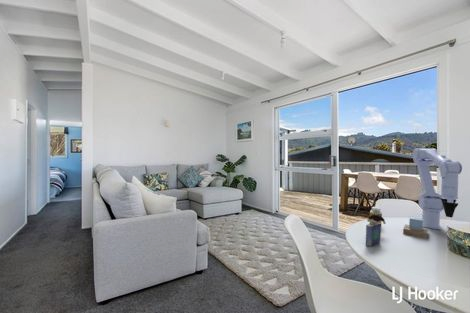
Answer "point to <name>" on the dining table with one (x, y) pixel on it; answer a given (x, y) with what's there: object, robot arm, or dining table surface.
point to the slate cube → (415, 223)
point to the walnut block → (415, 232)
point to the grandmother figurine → (376, 216)
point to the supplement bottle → (373, 213)
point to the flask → (373, 233)
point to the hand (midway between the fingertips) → (448, 215)
